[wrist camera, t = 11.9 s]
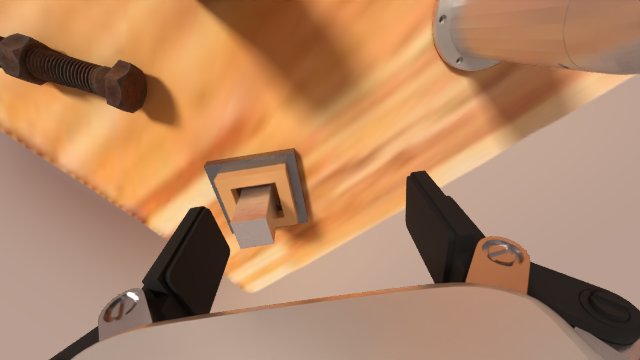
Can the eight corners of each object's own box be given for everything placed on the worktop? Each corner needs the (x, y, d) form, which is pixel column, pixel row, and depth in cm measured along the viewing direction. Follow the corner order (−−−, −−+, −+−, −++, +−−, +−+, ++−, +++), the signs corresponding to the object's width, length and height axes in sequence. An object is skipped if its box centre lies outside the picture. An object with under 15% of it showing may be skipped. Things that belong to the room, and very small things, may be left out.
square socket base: (293, 148, 36) (293, 158, 33) (307, 216, 43) (308, 229, 40) (207, 161, 36) (198, 173, 33) (234, 227, 43) (229, 242, 40)
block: (272, 177, 38) (265, 217, 30) (278, 199, 41) (274, 243, 32) (245, 181, 38) (230, 223, 30) (252, 203, 41) (240, 248, 32)
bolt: (14, 38, 29) (152, 79, 32) (1, 79, 29) (142, 117, 31) (-51, 4, 23) (126, 58, 26) (-66, 55, 23) (114, 104, 26)
